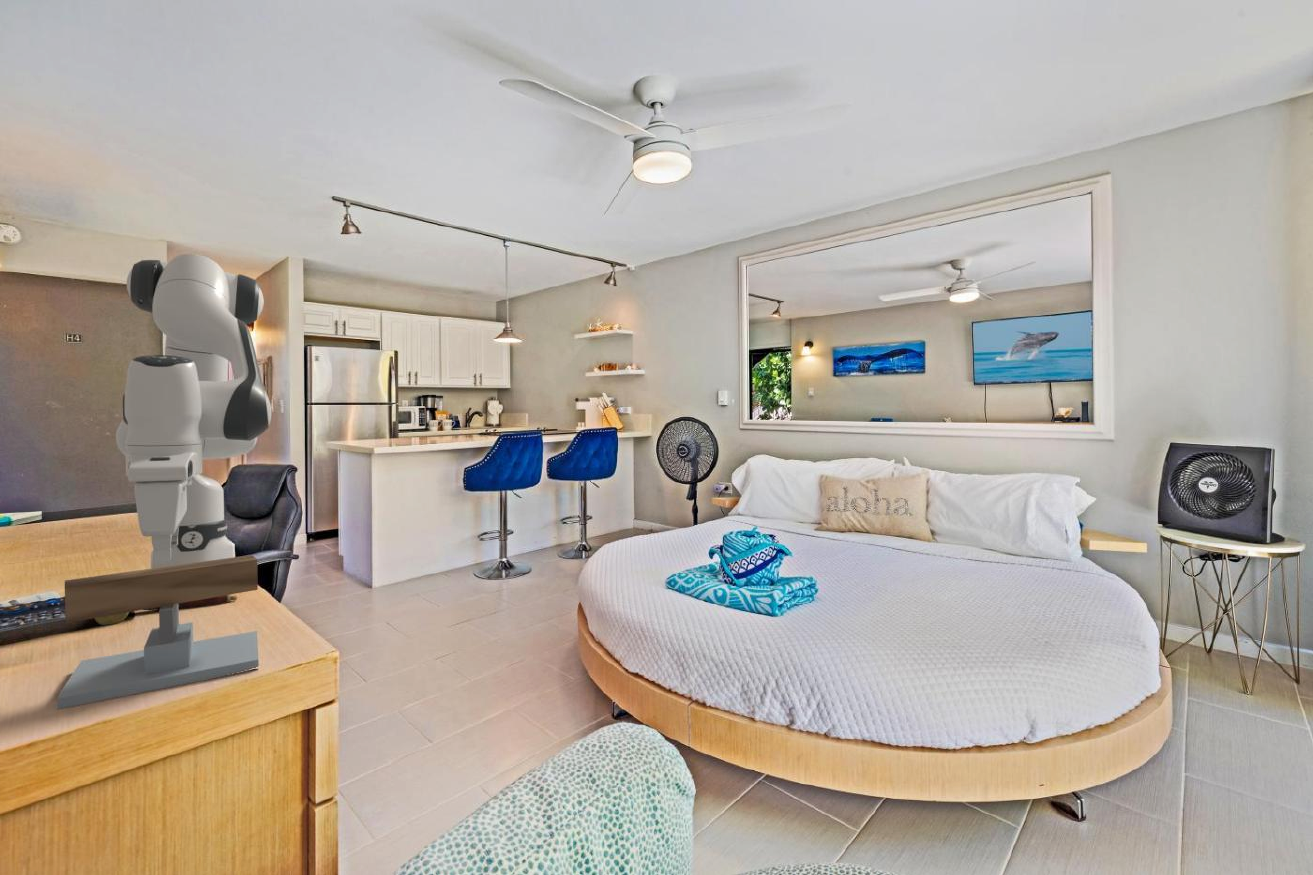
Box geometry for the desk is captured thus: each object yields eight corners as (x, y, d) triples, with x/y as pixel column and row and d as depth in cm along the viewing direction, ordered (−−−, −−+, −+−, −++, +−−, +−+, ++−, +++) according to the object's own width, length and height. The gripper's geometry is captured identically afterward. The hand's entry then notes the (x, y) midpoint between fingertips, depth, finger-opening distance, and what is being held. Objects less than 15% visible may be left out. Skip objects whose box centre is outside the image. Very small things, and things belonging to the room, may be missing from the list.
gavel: (240, 580, 126) (235, 593, 117) (239, 601, 126) (234, 616, 117) (110, 588, 115) (94, 602, 106) (108, 611, 115) (92, 627, 107)
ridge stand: (81, 670, 89) (79, 601, 88) (257, 639, 101) (256, 579, 101) (57, 709, 77) (54, 631, 77) (258, 669, 90) (257, 601, 89)
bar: (65, 615, 82) (64, 580, 82) (252, 584, 98) (251, 554, 98) (65, 623, 80) (64, 586, 79) (257, 589, 95) (257, 559, 95)
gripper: (147, 458, 95) (148, 543, 95) (125, 471, 78) (127, 573, 78) (196, 457, 98) (198, 538, 99) (186, 469, 81) (187, 567, 82)
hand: (166, 554), depth 89 cm, fingers open, 8 cm apart
